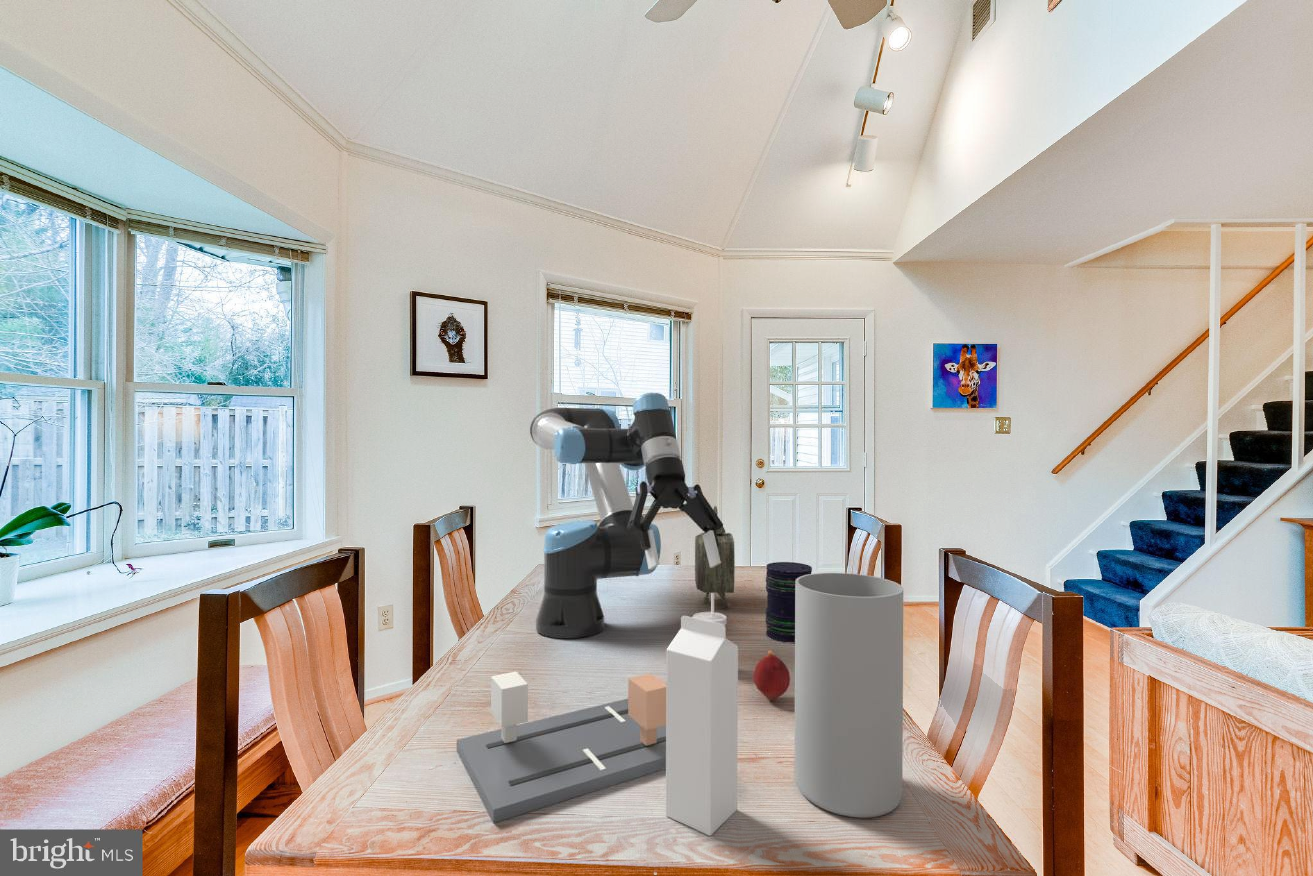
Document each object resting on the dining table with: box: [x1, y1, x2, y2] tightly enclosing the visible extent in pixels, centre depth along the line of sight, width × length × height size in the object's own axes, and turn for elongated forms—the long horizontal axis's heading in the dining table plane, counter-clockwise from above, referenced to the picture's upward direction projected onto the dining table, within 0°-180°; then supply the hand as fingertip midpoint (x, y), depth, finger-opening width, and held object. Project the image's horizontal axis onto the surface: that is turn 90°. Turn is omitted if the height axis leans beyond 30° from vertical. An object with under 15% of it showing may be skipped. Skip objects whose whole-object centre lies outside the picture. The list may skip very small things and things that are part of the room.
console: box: [456, 698, 666, 824], centre depth 82 cm, size 18×28×2 cm, turn 121°
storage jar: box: [765, 561, 813, 644], centre depth 132 cm, size 10×10×15 cm
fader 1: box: [490, 671, 529, 743], centre depth 83 cm, size 5×4×8 cm
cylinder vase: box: [793, 572, 904, 819], centre depth 74 cm, size 12×12×25 cm
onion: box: [752, 650, 791, 701], centre depth 100 cm, size 6×6×8 cm
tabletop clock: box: [694, 505, 736, 610], centre depth 158 cm, size 14×9×25 cm, turn 179°
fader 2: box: [627, 673, 666, 746], centre depth 82 cm, size 5×4×8 cm
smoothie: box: [692, 593, 728, 626], centre depth 113 cm, size 6×6×14 cm
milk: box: [665, 615, 739, 837], centre depth 70 cm, size 6×6×22 cm
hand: (685, 566), depth 112 cm, fingers open, 13 cm apart
